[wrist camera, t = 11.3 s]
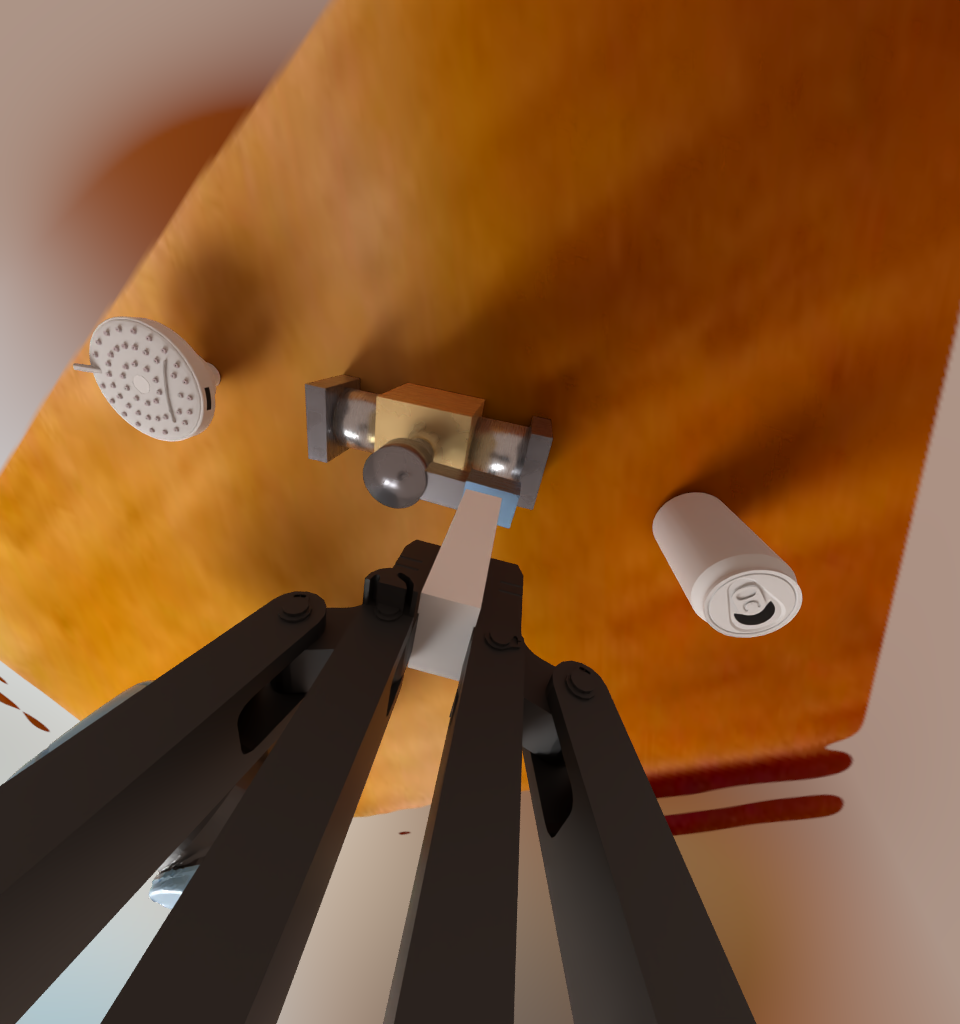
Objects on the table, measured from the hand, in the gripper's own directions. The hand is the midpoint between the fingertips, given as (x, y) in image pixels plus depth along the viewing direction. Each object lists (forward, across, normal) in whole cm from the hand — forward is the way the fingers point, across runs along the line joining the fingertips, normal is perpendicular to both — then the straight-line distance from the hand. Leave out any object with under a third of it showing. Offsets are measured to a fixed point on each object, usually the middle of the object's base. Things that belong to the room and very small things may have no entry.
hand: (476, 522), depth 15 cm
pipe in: (+20, -12, -2) cm, 23 cm away
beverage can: (+20, +19, -5) cm, 27 cm away
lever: (+9, -3, -3) cm, 10 cm away
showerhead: (+20, -29, -3) cm, 35 cm away
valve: (+19, -6, -2) cm, 20 cm away
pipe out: (+19, +1, -2) cm, 20 cm away
